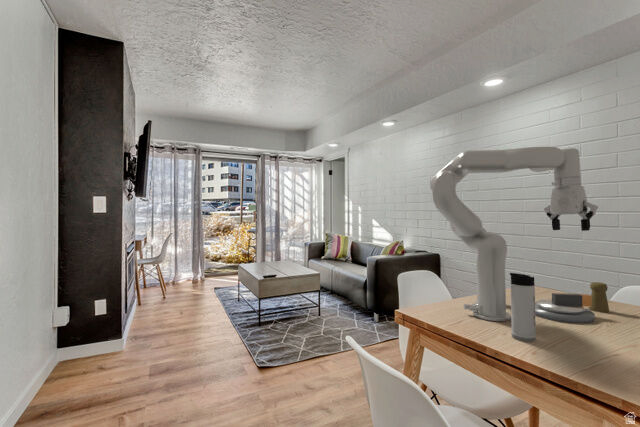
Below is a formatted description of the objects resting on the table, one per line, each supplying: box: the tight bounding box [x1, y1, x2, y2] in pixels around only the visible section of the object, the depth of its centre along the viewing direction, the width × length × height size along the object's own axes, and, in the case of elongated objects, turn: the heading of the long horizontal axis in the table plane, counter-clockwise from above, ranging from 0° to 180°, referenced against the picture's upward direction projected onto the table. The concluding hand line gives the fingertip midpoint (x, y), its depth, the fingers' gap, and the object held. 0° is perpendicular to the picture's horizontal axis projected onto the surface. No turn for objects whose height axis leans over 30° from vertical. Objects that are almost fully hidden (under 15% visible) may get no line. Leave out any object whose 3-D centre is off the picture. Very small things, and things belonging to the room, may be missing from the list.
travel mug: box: [509, 272, 537, 343], centre depth 97 cm, size 6×7×20 cm
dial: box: [536, 292, 592, 314], centre depth 119 cm, size 17×14×6 cm
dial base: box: [535, 301, 596, 324], centre depth 119 cm, size 20×20×3 cm
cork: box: [588, 281, 610, 314], centre depth 124 cm, size 6×6×11 cm
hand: (570, 230), depth 113 cm, fingers open, 9 cm apart
